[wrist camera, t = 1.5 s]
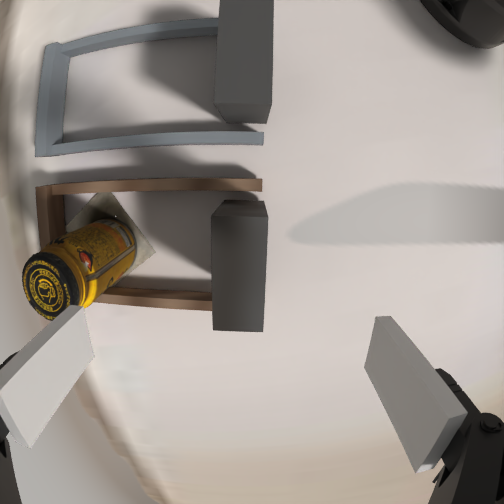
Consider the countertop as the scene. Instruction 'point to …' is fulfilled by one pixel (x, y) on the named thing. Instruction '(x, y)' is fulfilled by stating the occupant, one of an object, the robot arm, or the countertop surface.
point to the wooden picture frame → (222, 249)
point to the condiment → (85, 258)
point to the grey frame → (226, 78)
